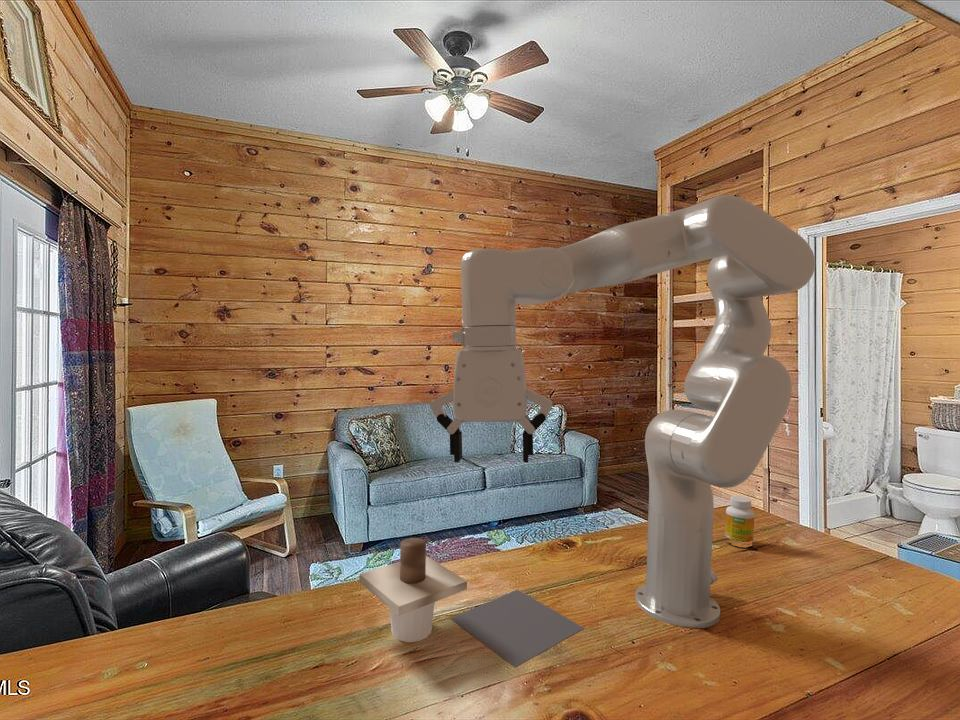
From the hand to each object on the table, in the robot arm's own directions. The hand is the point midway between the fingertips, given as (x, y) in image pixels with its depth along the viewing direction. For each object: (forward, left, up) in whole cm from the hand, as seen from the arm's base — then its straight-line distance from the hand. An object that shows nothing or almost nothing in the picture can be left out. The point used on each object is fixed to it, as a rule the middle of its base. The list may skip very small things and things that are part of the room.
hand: (491, 460), depth 70 cm
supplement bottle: (-63, +8, -25) cm, 69 cm away
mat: (-4, +1, -25) cm, 26 cm away
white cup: (+9, -7, -25) cm, 28 cm away
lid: (+9, -7, -18) cm, 21 cm away
